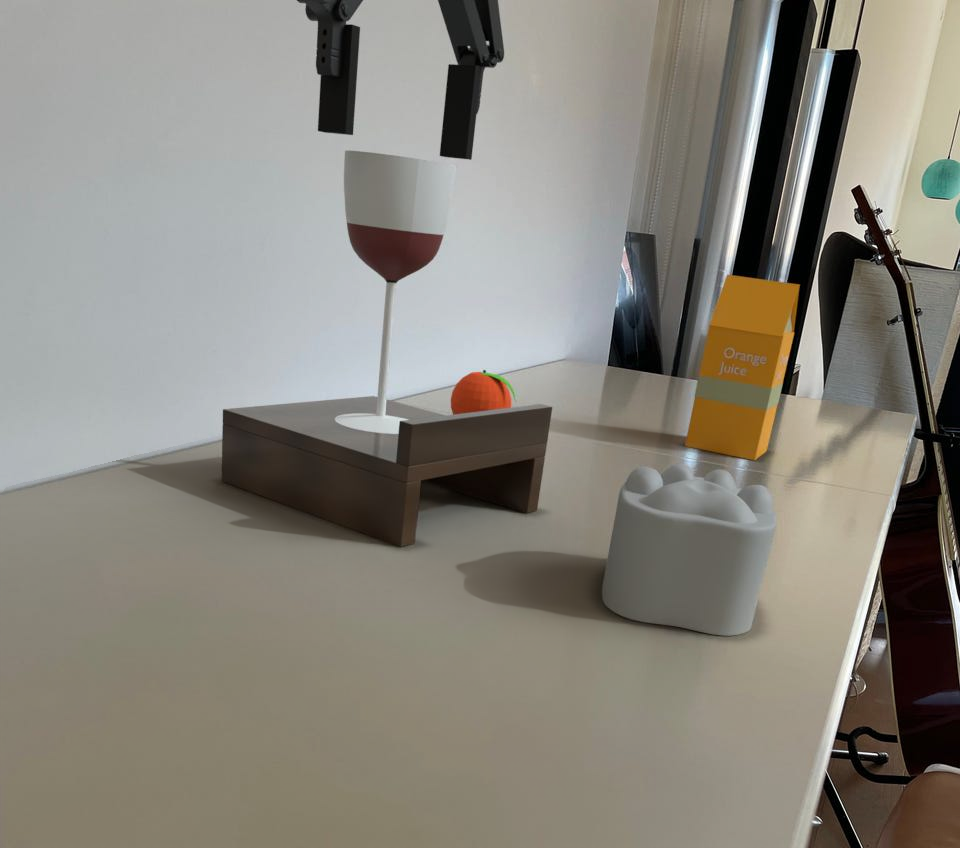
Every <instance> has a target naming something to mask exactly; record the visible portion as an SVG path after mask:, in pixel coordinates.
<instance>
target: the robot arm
mask: <svg viewBox="0 0 960 848" xmlns="http://www.w3.org/2000/svg"><path fill="white" fill-rule="evenodd" d="M296 1H297V2H298V3H299V4H305V15H306V17H307V19H308V20H309V21H311V22H317V31H316V33H317V34H316V35H317V37H316V56H315V68H316V74H317V75H319V76H320V83H319V100H318V101H319V102H318V118H317V119H318V120H317V132H321V133H325V134H336V135H347V136H354V127H355V126H354V125H355V113H356V109H355V108H356V95H357V82H358V81H357V79H358V65H359V53H360V52H359V51H360V37H361V36H360V35H361V26H358V25H356V24H347V22H349V21H350V20H351V19H352V17H353V16H354V15H355V13H356V11H357V10H358V8H360V5H361V4H362V3H363V2H364V0H296ZM437 2H438V6H439V9H440V12H441V14H442V15H441V16H442V18H443V22H444V24H445V28H446V31H447V34H448V37H449V41H450V44H451V48H452V50H453V53H454V57H455V60H456V63H457V64H452V63H451V64H450V63H449V64H448V65H447V76H446V86H445V94H444V95H445V96H444V108H443V116H442V117H443V118H442V126H441V138H440V148H439V157H442V158H450V159H459V160H471V161H472V159H473V148H474V140H475V131H476V122H477V115H478V114H479V111H480V107H481V99H482V98H481V97H482V89H483V79H484V72H485V69H486V68H489V69H494V68H495V67H496V66H497V65H498V63H499V64H500V63H502V62H503V61H504V59H505V46H504V39H503V30H502V22H501V15H500V5H499V0H437ZM487 42H488V44H487Z"/></svg>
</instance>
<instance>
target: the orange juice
mask: <svg viewBox="0 0 960 848" xmlns="http://www.w3.org/2000/svg"><path fill="white" fill-rule="evenodd" d="M800 286H801V284H798V283H791V282H783V281H777V280H769V279H764V278H763V279H762V278H755V277H747V276H740V275H734V274H733V275H732V274H726V276H725V280H724V282H723V285H722V288H721V291H720V294H719V296H718V299H717V302H716V304H715V307H714V311H713V313H712V316H711V319H710V322H709V324H708V330H707V334H706V338H705V344H704V350H703V354H702V359H701V365H700V369H699V374H698V377H697V382H696V387H695V392H694V399H693V404H692V408H691V414H690V419H689V423H688V429H687V434H686V439H685V444H684V447H688V448H692V449H693V448H694V449H698V450H703V451H707V452H713V453H717V454H722V455H726V456H727V455H728V456H733V457H736V458H737V457H738V458H742V459H747V460H750V461H756V460H758V458H760V457H761V456H762V455H764V454H765V453H766V452H767V451H768V448H769V447H768V446H769V443H770V440H771V439H770V438H771V435H772V430H773V426H774V421H775V417H776V413H777V408H778V405H779V402H780V398H781V393H782V389H783V384H784V378H785V376H786V375H785V374H786V371H787V366H788V361H789V358H790V353H791V350H792V344H793V341H794V336H795V327H796V326H795V325H796V317H797V309H798V302H799V295H800V294H799V293H800Z"/></svg>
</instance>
